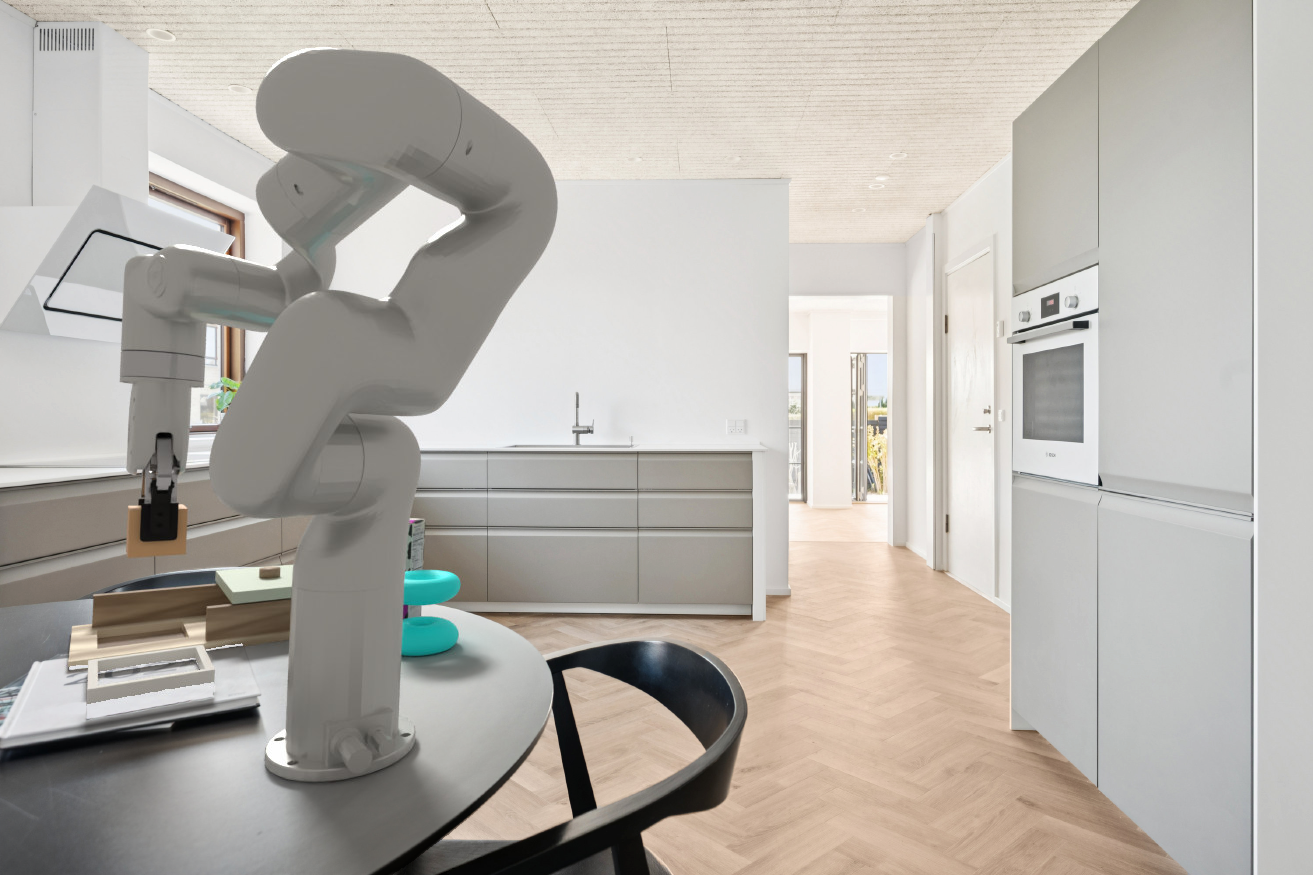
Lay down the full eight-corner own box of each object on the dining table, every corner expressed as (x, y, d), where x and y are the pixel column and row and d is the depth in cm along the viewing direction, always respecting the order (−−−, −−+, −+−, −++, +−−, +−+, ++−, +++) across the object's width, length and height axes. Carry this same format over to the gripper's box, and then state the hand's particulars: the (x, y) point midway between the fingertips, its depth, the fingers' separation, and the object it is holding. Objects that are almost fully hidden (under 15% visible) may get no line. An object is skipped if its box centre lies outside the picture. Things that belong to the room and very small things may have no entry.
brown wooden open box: (328, 644, 93) (330, 596, 93) (67, 684, 75) (69, 625, 75) (299, 616, 106) (301, 574, 106) (71, 645, 88) (73, 594, 88)
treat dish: (213, 696, 73) (214, 669, 73) (86, 719, 67) (87, 689, 67) (201, 669, 81) (202, 644, 81) (87, 687, 75) (88, 659, 75)
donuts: (415, 565, 99) (474, 571, 97) (412, 633, 99) (472, 641, 97) (368, 578, 90) (433, 585, 87) (365, 653, 90) (430, 662, 87)
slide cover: (326, 594, 93) (326, 574, 93) (232, 604, 86) (233, 582, 86) (299, 573, 105) (299, 556, 105) (215, 580, 98) (216, 562, 98)
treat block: (185, 554, 74) (187, 508, 74) (127, 557, 71) (129, 510, 71) (181, 547, 78) (183, 504, 78) (126, 550, 74) (128, 505, 74)
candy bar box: (336, 626, 101) (340, 517, 101) (354, 617, 106) (358, 514, 106) (407, 631, 100) (412, 521, 100) (422, 622, 105) (426, 517, 105)
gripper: (118, 373, 78) (111, 529, 78) (122, 363, 65) (114, 551, 65) (195, 378, 83) (189, 526, 83) (214, 370, 70) (207, 545, 70)
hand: (156, 535), depth 74 cm, fingers closed on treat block, 5 cm apart
